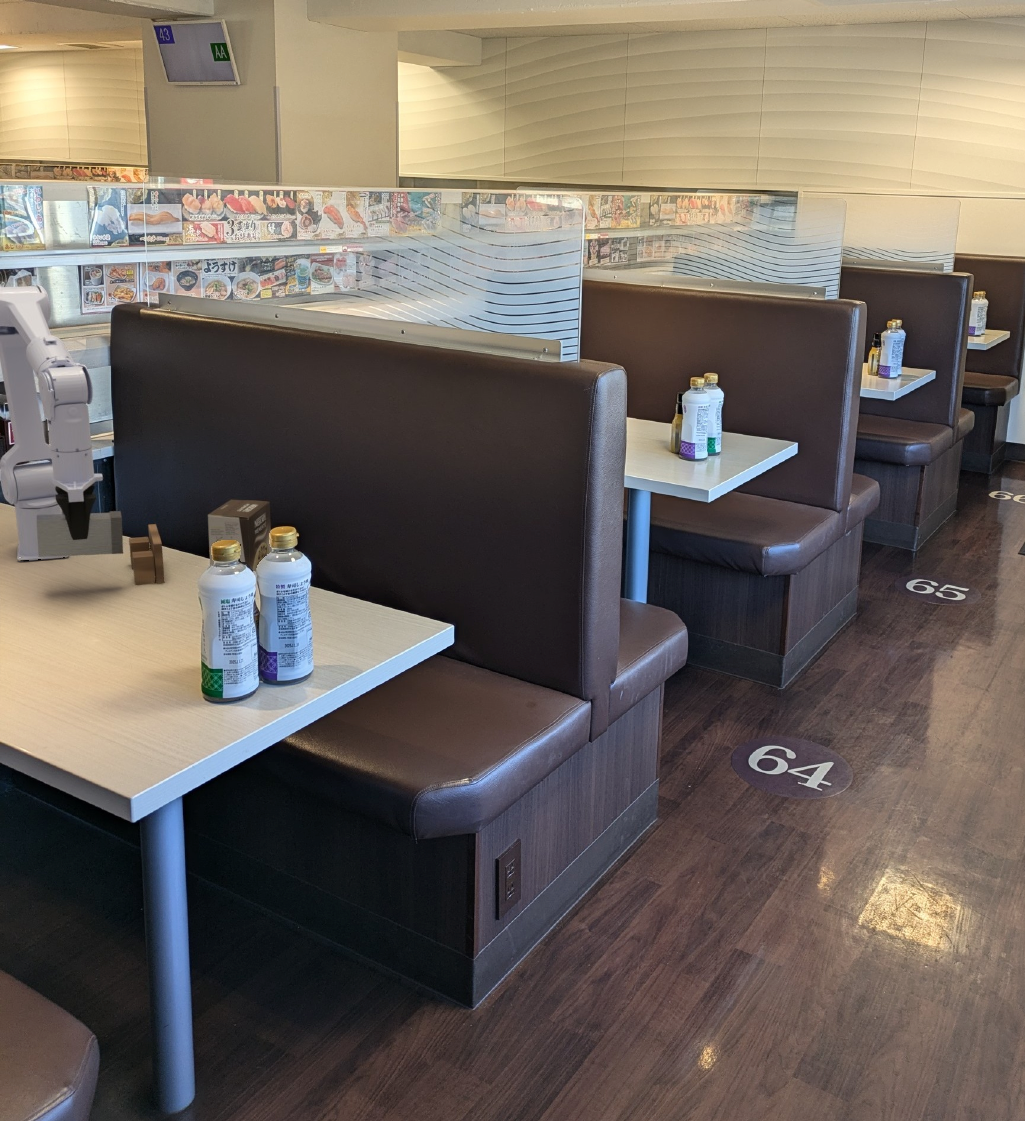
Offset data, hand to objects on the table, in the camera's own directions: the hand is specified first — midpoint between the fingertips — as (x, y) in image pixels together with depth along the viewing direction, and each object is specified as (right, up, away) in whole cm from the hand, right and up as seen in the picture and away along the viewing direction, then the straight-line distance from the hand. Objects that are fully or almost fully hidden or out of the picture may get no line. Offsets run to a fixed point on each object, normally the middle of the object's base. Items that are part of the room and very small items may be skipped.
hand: (79, 535), depth 171 cm
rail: (0, -3, +1) cm, 3 cm away
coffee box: (+26, -12, -2) cm, 28 cm away
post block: (+6, -6, +11) cm, 14 cm away
